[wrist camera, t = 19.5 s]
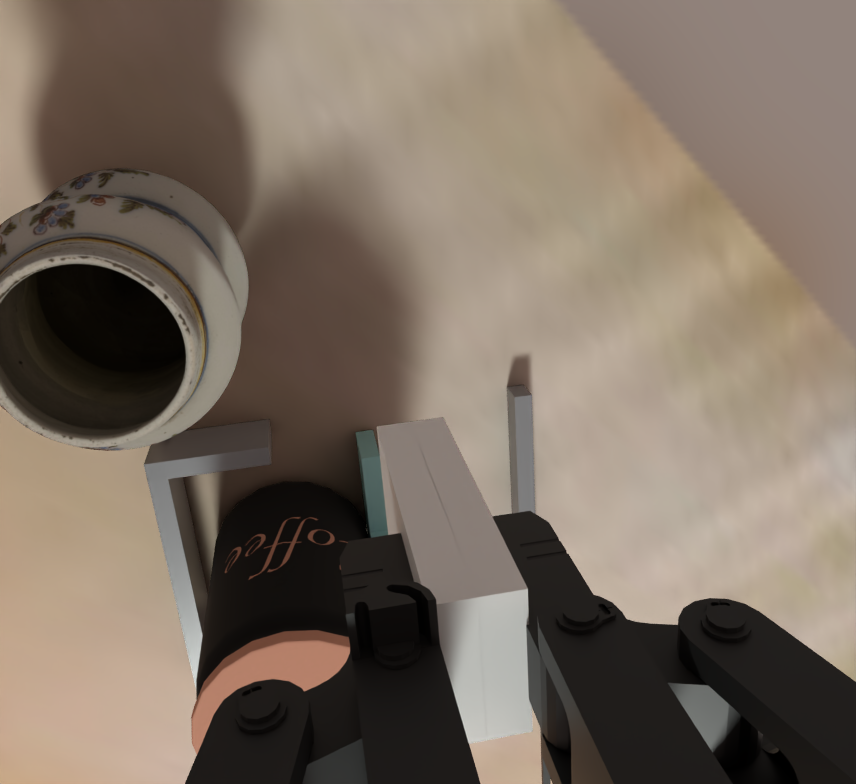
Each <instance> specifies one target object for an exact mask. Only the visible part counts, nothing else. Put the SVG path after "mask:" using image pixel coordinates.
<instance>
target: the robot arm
mask: <svg viewBox="0 0 856 784" xmlns="http://www.w3.org/2000/svg"><path fill="white" fill-rule="evenodd" d="M377 435H378V444H379V453H380V463H381V472H382V481H383V490H384V500H385V509H386V518H387V527H388V535H384V536H378V537H372V538H365V539H359V540H353V541H348V543H347V545H346V547H345V549H344V551H343V552H342V554H341V556H340V566H341V574H342V582H343V590H344V598H345V606H346V620H347V628H348V635H349V642H350V654H349V656H348V658H347V661H346V663H345V664H344V665H343V667H342V668H341V669H340V670H339V672H337V673H336V674H335V675H334V676H332V677H331V678H330V679H329V680H327V681H325V682H323V683H321V684H320V685H318V686H316V687H313V688H311V689H309V690H307V691H303V689H302V688H301V687H299V686H297V685H295V684H293V683H292V682H290V681H284V680H277V679H269V680H263V681H256V682H253V683H251V684H248V685H246V686H244V687H241V688H239V689H237V690H236V691H234V692H233V693H232V694H231V695H229V696H228V697H227V698H225V699H224V700H223V701H222V703H221V704H220V706H219V707H218V709H217V710H216V712H215V713H214V715H213V718H212V720H211V723H210V725H209V727H208V730H207V732H206V735H205V737H204V739H203V742H202V744H201V747H200V749H199V751H198V754H197V756H196V759H195V761H194V763H193V766H192V768H191V771H190V773H189V775H188V778H187V780H186V783H185V784H480V781H479V777H478V774H477V770H476V767H475V763H474V760H473V757H472V753H471V750H470V746H469V744H471V743H476V742H481V741H486V740H491V739H497V738H502V737H507V736H512V735H517V734H522V733H527V732H532V731H533V730H532V708H533V710H534V713H535V715H536V718H537V720H538V723H539V725H540V728H541V762H542V784H550V779H551V780H552V783H553V784H856V682H855V681H854V680H852V679H851V678H850V677H848V676H847V675H845V674H844V673H843V672H841V671H840V670H839V669H837V668H836V667H834V666H833V665H832V664H830V663H829V662H828V661H826V660H825V659H824V658H822V657H821V656H819V655H818V654H817V653H815V652H814V651H813V650H811V649H810V648H808V647H807V646H806V645H804V644H803V643H802V642H800V641H799V640H797V639H796V638H795V637H793V636H792V635H791V634H789V633H788V632H786V631H785V630H784V629H782V628H781V627H780V626H778V625H777V624H776V623H774V622H773V621H771V620H770V619H769V618H767V617H766V616H765V615H763V614H762V613H760V612H759V611H757V610H755V609H753V608H751V607H750V606H748V605H746V604H744V603H740V602H736V601H732V600H729V599H715V598H709V599H704V600H699V601H694V602H693V603H691V604H690V605H688V606H686V607H685V608H683V610H682V612H681V614H680V616H679V619H678V625H666V624H648V623H640V622H634V621H631V620H627V619H626V618H625V616H624V615H623V613H622V612H621V611H620V610H619V609H618V608H617V607H616V606H615V605H614V604H613V603H612V602H610V601H608V600H606V599H604V598H602V597H600V596H596V595H593V593H592V592H591V590H590V588H589V587H588V585H587V584H586V582H585V580H584V579H583V577H582V576H581V574H580V572H579V571H578V569H577V567H576V566H575V564H574V563H573V561H572V559H571V558H570V556H569V554H567V553H566V550H565V548H564V546H563V545H562V543H561V541H559V539H558V537H557V535H556V533H555V532H554V530H553V528H552V527H551V525H550V524H549V522H547V521H546V520H544V519H542V518H541V517H539V516H538V515H536V514H535V513H533V512H531V511H525V512H518V513H512V514H506V515H499V516H493V517H492V515H491V513H490V511H489V509H488V507H487V505H486V503H485V501H484V499H483V497H482V495H481V493H480V491H479V489H478V487H477V485H476V483H475V481H474V479H473V477H472V475H471V473H470V471H469V468H468V466H467V464H466V462H465V460H464V458H463V456H462V454H461V452H460V450H459V448H458V446H457V444H456V442H455V440H454V438H453V436H452V434H451V432H450V430H449V428H448V426H447V424H446V422H445V420H444V418H443V417H440V418H433V419H426V420H419V421H412V422H404V423H397V424H390V425H383V426H377Z"/></svg>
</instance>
